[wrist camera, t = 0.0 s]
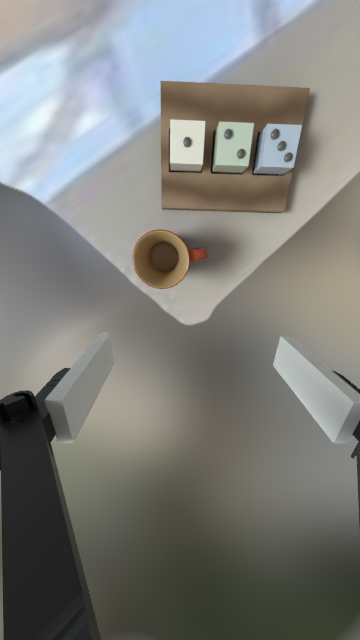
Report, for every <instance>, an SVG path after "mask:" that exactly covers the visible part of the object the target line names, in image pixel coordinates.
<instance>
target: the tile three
mask: <svg viewBox="0 0 360 640" xmlns="http://www.w3.org/2000/svg"><path fill="white" fill-rule="evenodd" d="M301 128H302V125H286V124H267V125H266V127H265V128H264V129H263V131H262V132H261V133H260V134H259V139H258V146H257V153H256V160H255V167H254V173H257V174H284V173H286V172H288V171H289V170H291V169H292V168H293V167H294V163H295V158H296V153H297V148H298V143H299V138H300V133H301Z"/></svg>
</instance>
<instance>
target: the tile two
mask: <svg viewBox="0 0 360 640" xmlns="http://www.w3.org/2000/svg"><path fill="white" fill-rule="evenodd" d="M253 127H254V123H240V122H219V124H218V127H217V129H216V132H215V142H214V156H213V169H212V172H230V173H242V172H243V171H244V170H245V169H246V168H247V167H248V165H249V158H250V150H251V143H252V135H253Z"/></svg>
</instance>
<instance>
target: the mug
mask: <svg viewBox="0 0 360 640" xmlns="http://www.w3.org/2000/svg"><path fill="white" fill-rule="evenodd" d="M207 257H208V249H207V248H205V247H203V248H195V249H190V248H187V246H186V244H185V243H184V242H183V240H182V239H181V238H180V237H179V236H177V235H176V234H174V233H172V232H170V231H167V230H153V231H150V232H148V233H146V234H145V235H143V236H142V237H141V238H140V239H139V240H138V242H137V244H136V245H135V248H134V251H133V265H134V269H135V271H136V273H137V275H138V276H139V278H140V279H141V280H142V281H143V282H144V283H146V284H147V285H149V286H151V287H154V288H158V289H166V288H170V287H173V286H175V285H177V284H178V283H179V282H181V281H182V280H183V278H184V277H185V275H186V274H187V272H188V269H189V265H190V263H192V262H194V261H196V260H200V259H205V258H207Z"/></svg>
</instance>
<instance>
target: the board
mask: <svg viewBox="0 0 360 640" xmlns="http://www.w3.org/2000/svg"><path fill="white" fill-rule="evenodd" d="M309 90H310V88H298V87H277V86H256V85H235V84H215V83H194V82H173V81H161V169H162V209H167V210H198V211H230V212H261V213H281V212H285V207H286V202H287V197H288V192H289V187H290V182H291V178H292V173H293V168H294V167H293V168H292V169H291V170H289V171H288V172H286V173H284V174H280V176H263V175H252V171H253V164H254V157H255V150H256V142H257V138H259V134H260V133H261V132H262V131H263V129H264V128H265V127H266V125H267V124H286V125H302V124H303V119H304V114H305V109H306V105H307V100H308V95H309ZM170 119H171V120H194V121H205V136H204V153H203V165H202V168H201V173H181V172H169V135H170ZM219 122H240V123H254V127H253V135H252V143H251V150H250V158H249V165H248V167H247V168H246V169H245V170H244V171H243V172H242V173H241V175H236V174H211V160H212V146H213V137H215V132H216V129H217V127H218V124H219ZM301 129H302V128H301ZM300 134H301V133H300ZM299 139H300V138H299Z"/></svg>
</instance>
